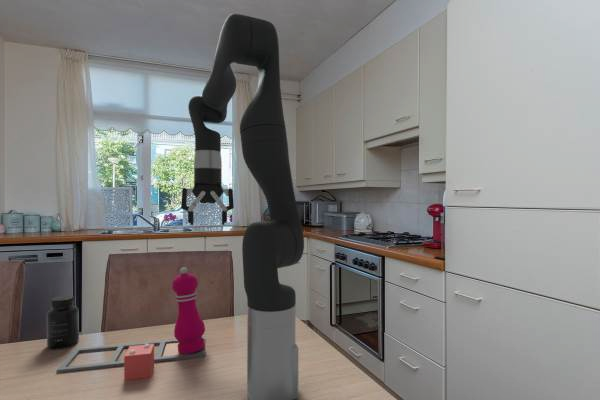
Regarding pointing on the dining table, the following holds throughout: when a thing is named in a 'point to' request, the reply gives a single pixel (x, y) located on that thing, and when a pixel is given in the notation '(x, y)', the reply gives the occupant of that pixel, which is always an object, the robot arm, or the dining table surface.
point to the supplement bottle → (62, 323)
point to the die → (139, 362)
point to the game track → (168, 355)
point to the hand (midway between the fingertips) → (207, 224)
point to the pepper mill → (188, 314)
